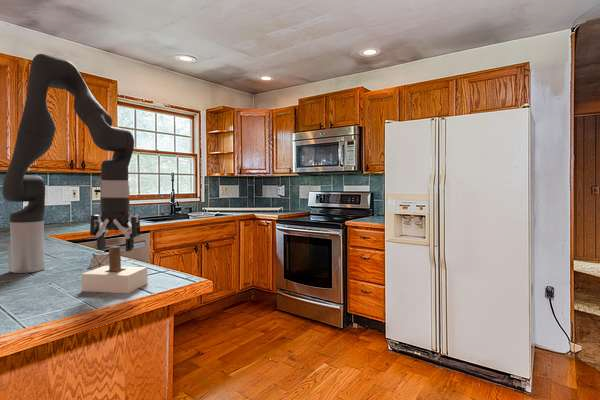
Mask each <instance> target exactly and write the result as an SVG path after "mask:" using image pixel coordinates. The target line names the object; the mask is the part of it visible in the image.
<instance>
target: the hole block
mask: <svg viewBox="0 0 600 400" xmlns="http://www.w3.org/2000/svg"><path fill="white" fill-rule="evenodd" d="M148 281H149V280H148V266H124V265H121V272H118V273H117V272H109V266H102V267H100V268H97V269H94V270H89V271H86V272H82V273H81V292H92V293H114V294H116V293H117V294H130V293H131V292H133V291H135V290H138V289H139V288H141V287H143V286H144V285H147V284H148Z"/></svg>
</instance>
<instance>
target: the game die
mask: <svg viewBox="0 0 600 400" xmlns="http://www.w3.org/2000/svg"><path fill="white" fill-rule="evenodd" d="M92 256H93V257H92V259H91V260H90V264H89V266H88V267H87V268H86V270H89V271H91V270H94V269H97V268H100V267H102V266H109V253H107V252H106V250H103V252H102V253H98V254H95V253H92Z"/></svg>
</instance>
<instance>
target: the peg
mask: <svg viewBox="0 0 600 400" xmlns="http://www.w3.org/2000/svg"><path fill="white" fill-rule="evenodd" d="M121 251H122V250H121V246H119V245H113V246H109V247H108V254H109V272H117V273H118V272H121V266H122V265H121V264H122V259H121V258H122V257H121V255H122V254H121Z"/></svg>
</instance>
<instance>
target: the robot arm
mask: <svg viewBox="0 0 600 400" xmlns="http://www.w3.org/2000/svg"><path fill="white" fill-rule="evenodd" d="M49 88H51V89H52V88H53V89H57V90H58V89H59V90H66V91H67V92H68V93H70V95H72V96H73V97H74V100H73V108H74V111H75V113H76V115H77V117H78V118H79V120H81V122H83V124H84V125H85V126H86V127H87V129H88V132H89V134H90V137H91V138H92V139H91V140H92V142H93V143H94V144H95V146H96V147H98V148H99V149H101V150H102V151H105V152H107V151H108V152H113V155H112V156H111V158H110V159H106V160H103V161H102V162H101V168H100V169H101V170H100V175H101V176H100V179H101V181H100V188H99V189H100V190H99V191H100V193H99V195H100V196H99V197H100V199H99V200H100V206H99V207H100V212H101V215H100V214H91V215H90V225H89V226H90V227H89V235H91V236H94V237H96V248H97V249H98V251H105V249H106V234H107V233H108V232H109V231H113V230H114V231H119V232H121V234H123V235H124V237H125V252H132V251H133V250H134V248H135V247H134V246H135V244H134V243H135V241H134V240H135V238H136V237H140V236H141V234H142V233H141V219H140V215H134V216H130V214H129V212H130V194H131V193H130V185H129V166H130V163H131V159H132V155H133V153H134V148H135V139H134V136H133V134H132V132H131V131H130V130H128V129H126V128H120V127H116V126H112V125H113V119H112V117H111V115H110V114H109V113H108V111H107V110H106V109H105V108H104V107H103V106H102V105H101V103H99V102H98V100H97V99H96V98H95V96H94V95H93V94H92V92H91V90H90V88H89V87H88V84H87V83H86V82H85V80H84V78H83V76H82V75H81V73H80V72H79V70H78V69H77V67H76V65H74V63H72V62H71V61H69V60H68V59H65V58H64V59H63V58H60V57H57V56H53V55H48V54H45V53H38V54H35V56H33V58H32V60H31V63H30V67H29V74H28V81H27V90H26V97H25V102H24V106H23V107H24V108H23V111H22V115H21V120H20V122H19V126H18V130H17V134H16V139H15V145H14V148H13V153H12V157H11V160H10V163H9V166H8V168H7V170H6V173H5V176H4V179H3V183H2V186H1V187H2V190H1V191H2V197H3V199H4V200H6V201H7V202H11V203H25V202H26V203H28V204H27V205H26V206H25V207H24V208H22V209H20V210H16V211H15V212H12V213H10V215H9V231H10V232H9V233H10V235H9V236H10V238H9V239H10V243H8V244H7V257H8V265H7V266H8V272H11V273H13V274H27V273H35V272H38V271H42V270H44V269H45V268H46V267H45V264H46V263H45V224H44V223H45V221H44V216H45V210H46V208H45V207H46V204H45V203H46V183H45V180H44V178H43V177H42V176H41V175H36V174H35V175H34V174H33V175H32V174H30V175H29V174H26V173H27V171H28V169H29V168H30V166H32V164H34V163H35V162H36V161H38V160H39V159H40V158H41V157H42V156H43V155H45V153H47V152H48V151H49V150H50V148H51V147H52V144H53V141H54V137H55V133H56V124H55V121H54V118H53V116H52V115H51V112H50V110H49V107H48V104H47V94H48V91H49ZM101 222H102V224H101ZM129 223H130V224H131V226H130V224H129Z"/></svg>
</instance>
